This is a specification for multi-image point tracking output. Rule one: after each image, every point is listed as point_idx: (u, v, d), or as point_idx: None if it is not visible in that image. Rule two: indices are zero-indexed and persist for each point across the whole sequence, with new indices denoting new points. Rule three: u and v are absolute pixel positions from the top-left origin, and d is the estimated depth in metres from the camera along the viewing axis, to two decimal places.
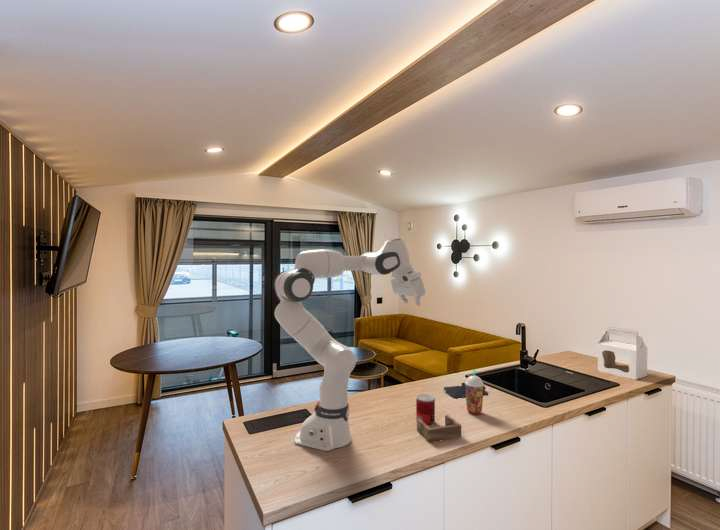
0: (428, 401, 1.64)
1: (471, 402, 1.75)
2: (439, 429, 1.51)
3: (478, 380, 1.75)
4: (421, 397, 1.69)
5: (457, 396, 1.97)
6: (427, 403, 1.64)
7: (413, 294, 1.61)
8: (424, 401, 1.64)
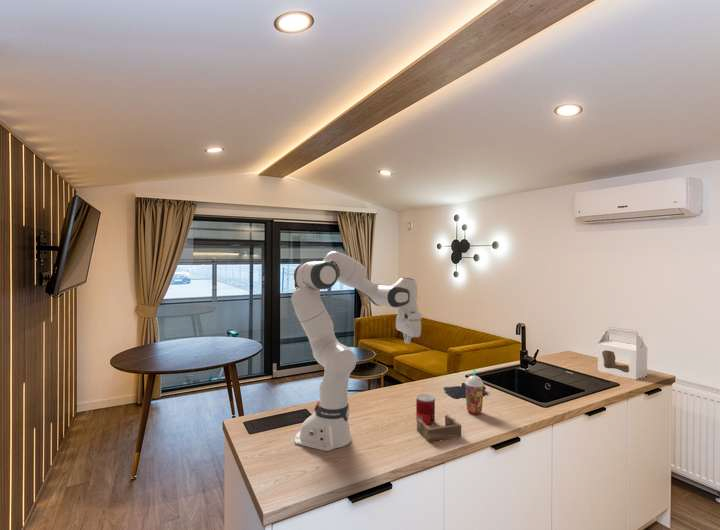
0: (428, 401, 1.64)
1: (471, 402, 1.75)
2: (439, 429, 1.51)
3: (478, 380, 1.75)
4: (421, 397, 1.69)
5: (457, 396, 1.97)
6: (427, 403, 1.64)
7: (409, 333, 1.68)
8: (424, 401, 1.64)
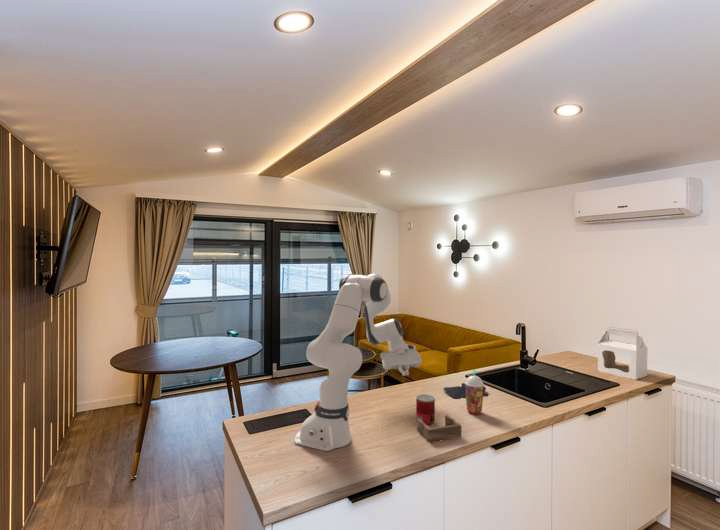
0: (428, 401, 1.64)
1: (471, 402, 1.75)
2: (439, 429, 1.51)
3: (478, 380, 1.75)
4: (421, 397, 1.69)
5: (456, 397, 1.96)
6: (427, 403, 1.64)
7: (415, 361, 1.92)
8: (424, 401, 1.64)
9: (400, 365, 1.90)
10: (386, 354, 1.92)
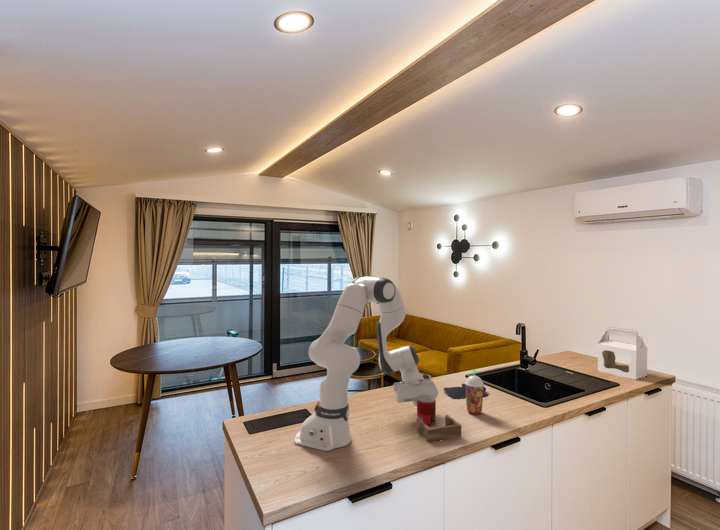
0: (429, 402, 1.63)
1: (471, 402, 1.75)
2: (439, 429, 1.51)
3: (478, 380, 1.75)
4: (422, 397, 1.68)
5: (456, 397, 1.96)
6: (428, 404, 1.63)
7: (431, 393, 1.76)
8: (425, 401, 1.64)
9: (415, 398, 1.73)
10: (399, 385, 1.75)
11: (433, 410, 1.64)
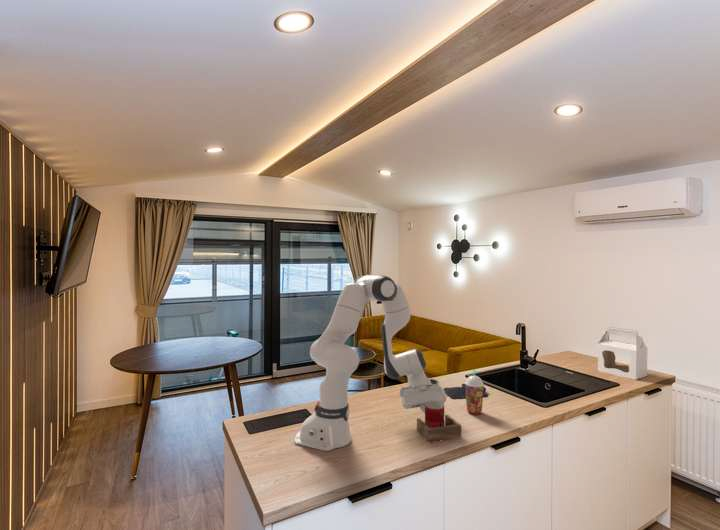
0: (437, 408, 1.56)
1: (471, 402, 1.75)
2: (439, 429, 1.51)
3: (478, 380, 1.75)
4: (430, 404, 1.61)
5: (456, 397, 1.96)
6: (436, 410, 1.56)
7: (439, 399, 1.69)
8: (433, 408, 1.57)
9: (422, 404, 1.66)
10: (406, 391, 1.68)
11: (442, 417, 1.57)
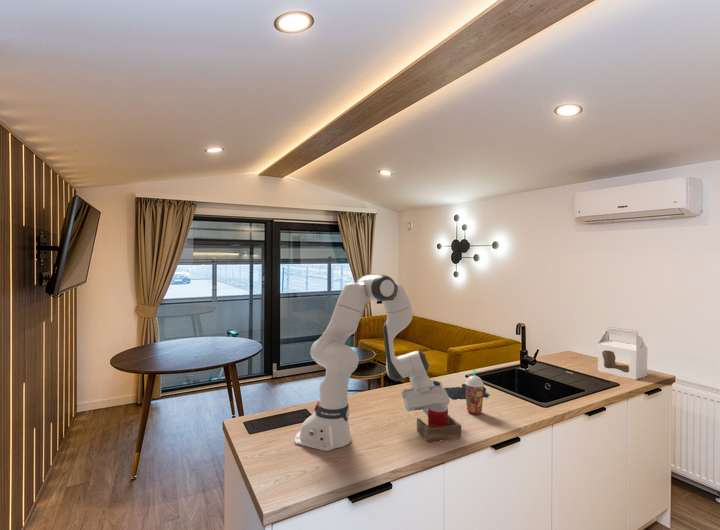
0: (441, 411, 1.54)
1: (471, 402, 1.75)
2: (439, 429, 1.51)
3: (478, 380, 1.75)
4: (433, 406, 1.58)
5: (455, 397, 1.95)
6: (440, 413, 1.53)
7: (442, 401, 1.66)
8: (437, 411, 1.54)
9: (425, 406, 1.63)
10: (409, 393, 1.66)
11: (445, 420, 1.54)
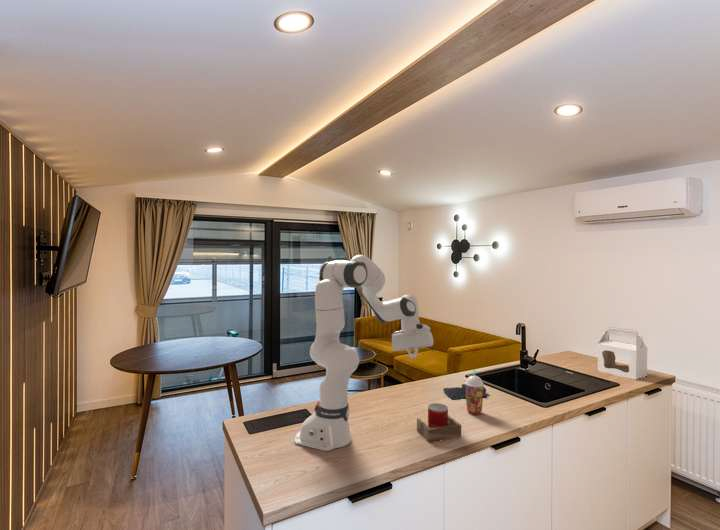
0: (441, 411, 1.54)
1: (471, 402, 1.75)
2: (439, 429, 1.51)
3: (478, 380, 1.75)
4: (433, 406, 1.58)
5: (455, 397, 1.95)
6: (440, 413, 1.54)
7: (423, 343, 1.75)
8: (437, 411, 1.54)
9: (407, 348, 1.79)
10: (395, 336, 1.84)
11: (445, 420, 1.55)
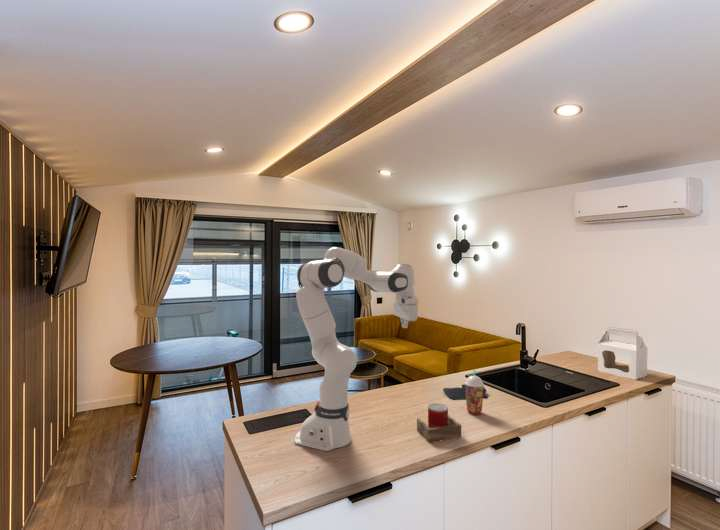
0: (441, 411, 1.54)
1: (471, 402, 1.75)
2: (439, 429, 1.51)
3: (478, 380, 1.75)
4: (433, 406, 1.58)
5: (454, 398, 1.95)
6: (440, 413, 1.54)
7: (406, 317, 1.74)
8: (437, 411, 1.54)
9: None
10: (394, 302, 1.87)
11: (445, 420, 1.55)
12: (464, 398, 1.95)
